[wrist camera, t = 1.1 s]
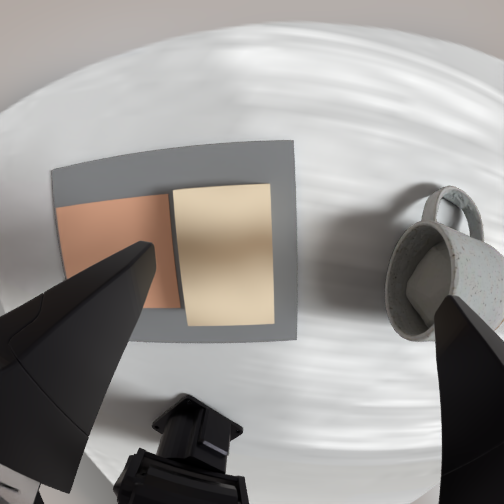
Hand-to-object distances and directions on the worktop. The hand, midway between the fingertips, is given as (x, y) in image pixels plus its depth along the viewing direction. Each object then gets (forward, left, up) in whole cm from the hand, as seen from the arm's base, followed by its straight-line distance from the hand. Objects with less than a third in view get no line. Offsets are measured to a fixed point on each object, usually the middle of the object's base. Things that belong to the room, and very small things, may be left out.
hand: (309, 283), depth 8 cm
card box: (-4, +1, -11) cm, 12 cm away
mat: (-7, +4, -12) cm, 14 cm away
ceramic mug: (+7, -11, -12) cm, 17 cm away
